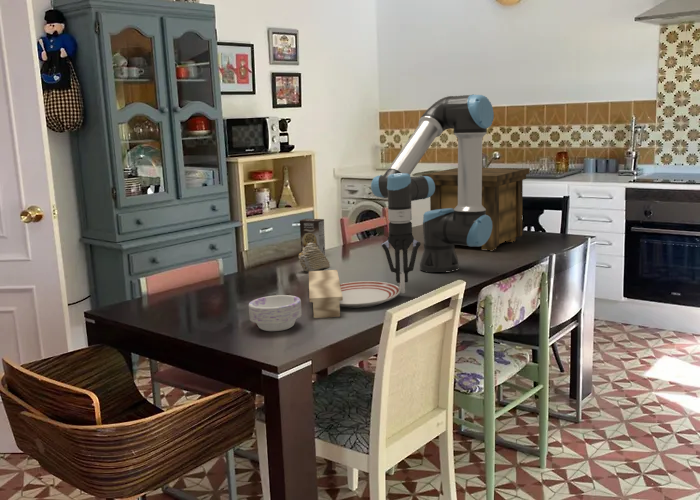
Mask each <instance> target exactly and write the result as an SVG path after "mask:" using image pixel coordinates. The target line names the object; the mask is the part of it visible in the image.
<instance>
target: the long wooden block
mask: <svg viewBox="0 0 700 500" xmlns="http://www.w3.org/2000/svg"><path fill="white" fill-rule="evenodd" d="M340 284H341V282H340V278H339V273H338V269H328V270H326V269H325V270H315V271H309V272H308V289H309V290H308V291H309V292H308V293H309V295H308V296H309V297H308V299H309V300H308V301H309V303H312V309H313V310H312V311H313V312H312V313H313V319H321V318H337V317H338V318H339V317H341V306H340V302H339V301H341V300H343V296H342V291H341V286H340Z"/></svg>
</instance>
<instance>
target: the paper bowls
mask: <svg viewBox="0 0 700 500" xmlns="http://www.w3.org/2000/svg"><path fill="white" fill-rule="evenodd" d="M248 313H249V314H248V315H249V320H250V322H252V323H255V324H256V325H257V326H258V328H259V329H260V330H262V331H265V332H280V331H285V330H288V329H290V328H292V327H293V326H294V325H295V324H296V320H298V319H300V318H301V317H302V314H303V313H302V300H301V298H300V297H298V296H295V295H290V294H289V295H287V294H279V295H277V294H276V295H268V296H263V297H258V298H256V299H253V300H251V301H249V303H248Z"/></svg>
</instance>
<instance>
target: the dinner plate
mask: <svg viewBox="0 0 700 500" xmlns="http://www.w3.org/2000/svg"><path fill="white" fill-rule="evenodd" d="M340 286H341V291H342V296H343V300H341V301H339V302H340V307H342V308H368V307H374V306H378V305H381V304H383V303H386V302H388V301H391V300H393V299H394V298H396V297H397V296H398V295H399V294H401V293H400V291H401V289H400V288H399V286H398V285H397V284H394V283H390V282H386V281H385V282H384V281H378V280H377V281H372V280H367V281H366V280H364V281H363V280H361V281H360V280H359V281H350V282H343V283H340Z"/></svg>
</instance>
